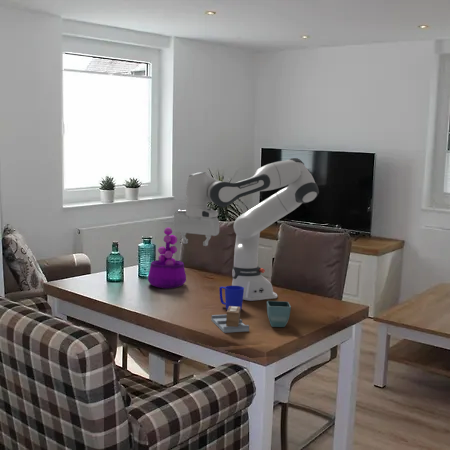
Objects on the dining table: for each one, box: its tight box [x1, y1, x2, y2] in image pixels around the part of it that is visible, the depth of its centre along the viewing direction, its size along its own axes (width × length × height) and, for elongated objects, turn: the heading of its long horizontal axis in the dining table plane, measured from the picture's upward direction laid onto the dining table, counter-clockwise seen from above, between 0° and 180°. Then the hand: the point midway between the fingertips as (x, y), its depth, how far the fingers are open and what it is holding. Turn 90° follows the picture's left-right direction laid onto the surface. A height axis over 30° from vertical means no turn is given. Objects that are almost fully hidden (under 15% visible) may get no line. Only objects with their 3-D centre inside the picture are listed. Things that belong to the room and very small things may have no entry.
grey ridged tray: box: [210, 313, 250, 334], centre depth 245 cm, size 10×17×2 cm, turn 18°
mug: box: [219, 285, 244, 311], centre depth 269 cm, size 8×12×10 cm
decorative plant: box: [147, 227, 187, 290], centre depth 305 cm, size 19×18×30 cm
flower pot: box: [266, 300, 292, 328], centre depth 247 cm, size 9×9×9 cm
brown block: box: [226, 306, 241, 327], centre depth 241 cm, size 9×4×6 cm, turn 174°
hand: (195, 244), depth 259 cm, fingers open, 8 cm apart
